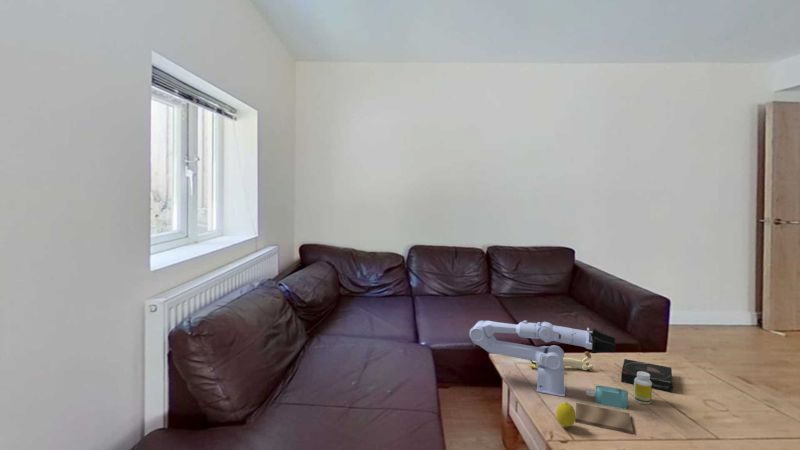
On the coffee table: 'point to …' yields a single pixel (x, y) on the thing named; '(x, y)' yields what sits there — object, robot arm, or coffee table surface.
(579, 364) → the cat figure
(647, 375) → the supplement bottle
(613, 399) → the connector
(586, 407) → the serving board
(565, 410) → the lemon
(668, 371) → the portable cd player
